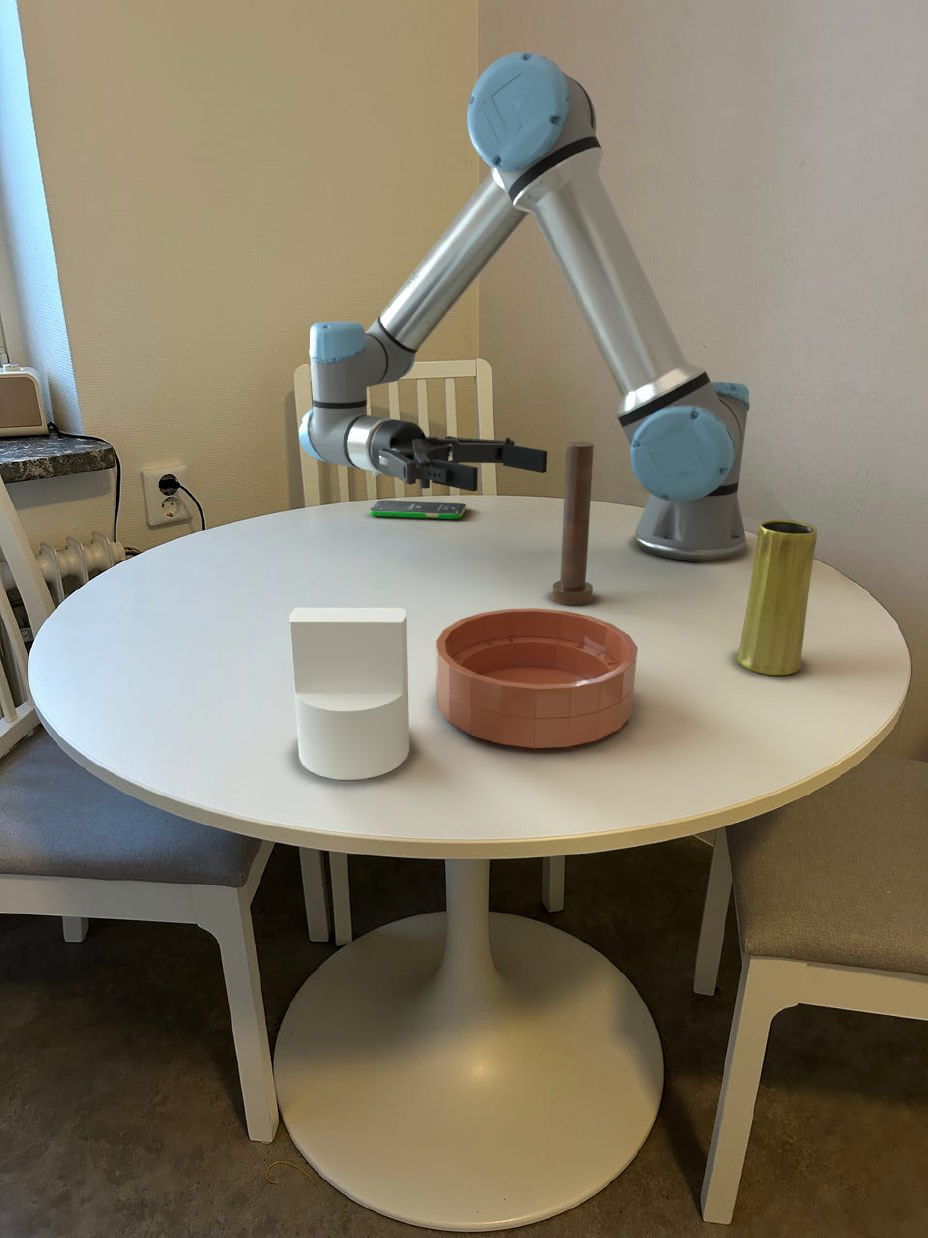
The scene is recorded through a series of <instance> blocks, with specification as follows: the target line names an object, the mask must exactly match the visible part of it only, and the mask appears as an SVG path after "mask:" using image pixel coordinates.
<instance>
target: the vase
mask: <svg viewBox="0 0 928 1238" xmlns="http://www.w3.org/2000/svg"><path fill="white" fill-rule="evenodd" d="M817 538H818V528H817V527H815V526H814V525H812V524H809V523H807V522H803V521H798V520H790V519H768V520H764V521H762V522H760V523H759V526H758V532H757V539H756V547H755V555H754V562H753V566H752V567H753V568H752V573H751V580H750V584H749V592H748V598H747V605H746V610H745V615H744V620H743V624H742V625H743V626H742V632H741V638H740V642H739V643H740V644H739V648H738V652H737V655H736V659H737V662H738V663H739V665H740V666H742V667H744V668H745V669H746V670H748V671H751V672H753V673H758V674H761V675H766V676H778V677H780V676H781V677H782V676H788V675H792V674H795V673H797V672H798V671H799V670H801V668H802V654H803V653H802V652H803V644H804V635H805V626H806V618H807V610H808V608H807V607H808V603H809V602H808V600H809V592H810V585H811V578H812V570H813V564H814V557H815V551H816V543H817Z"/></svg>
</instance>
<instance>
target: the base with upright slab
mask: <svg viewBox="0 0 928 1238" xmlns="http://www.w3.org/2000/svg"><path fill="white" fill-rule="evenodd" d="M406 611H407V610H406V609H405V608H404V607H295V608H294V609H293V610H292V611H291V612H290V614H289V617H288V625H289V626H288V627H289V639H290V641H289V642H290V653H291V665H292V666H291V667H292V679H293V680H292V681H293V693H294V694H293V695H294V708H295V716H296V717H295V718H296V719H295V720H296V721H295V722H296V733H297V748H298V758H299V761H300V763H301V765H302V766H303V767H304V768H305V769H306V770H307V771H309V772H310V773H312V774H315V775H317V776H320V777H323V778H327V779H331V780H340V781H354V780H356V781H357V780H366V779H371V778H375V777H376V778H377V777H379V776H381V775H384V774H386V773H389V772H392V771H394V770H395V769H397V768H398V767H400V766H401V765H402V764H403V763H404V762H405V760H406V759H407V758H408V755H409V754H410V753H409V752H410V720H409V718H410V717H409V715H410V714H409V673H408V672H409V670H408V669H409V668H408V626H407V625H408V623H407V622H408V621H407V620H408V619H407V612H406Z"/></svg>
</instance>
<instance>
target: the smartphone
mask: <svg viewBox="0 0 928 1238" xmlns="http://www.w3.org/2000/svg"><path fill="white" fill-rule="evenodd" d="M466 510H467V504H466V503H463V502H440V501H439V502H436V501H410V500H388V499H387V500H385V499H384V500H378V501H376V503H374V505H373V506H372V507H371V508H370V509H369V512H368V514H369V515H370V516H373V517H389V518H390V517H392V518H393V517H394V518H415V519H416V518H417V519H420V518H421V519H439V520H440V519H441V520H443V519H445V520H458V519H461V518H462V517H463V516H464V515H465V512H466Z"/></svg>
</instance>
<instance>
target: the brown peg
mask: <svg viewBox="0 0 928 1238" xmlns="http://www.w3.org/2000/svg"><path fill="white" fill-rule="evenodd" d="M594 446H595V444H594V443H593V442H589V441H569V442H566V454H565V475H564V495H563V496H564V499H563V518H562V519H563V521H562V538H561V539H562V541H561V561H560V563H561V564H560V580H557V581H555V582H554V583H553V584H552V590H551V591H552V592H551V593H552V594H551V600H552V601H553V602H555V603H557V604H560V605H565V606H573V607H574V606H577V607H578V606H585V605H588V604H590V603H591V602H592V601H593V593H594V592H593V591H594V585H593V584H591V583H590V582H587V568H588V566H587V564H588V549H589V535H590V534H589V532H590V518H591V517H590V516H591V514H590V513H591V501H592V500H591V499H592V480H593V464H594V463H593V461H594V449H595V448H594Z"/></svg>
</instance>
